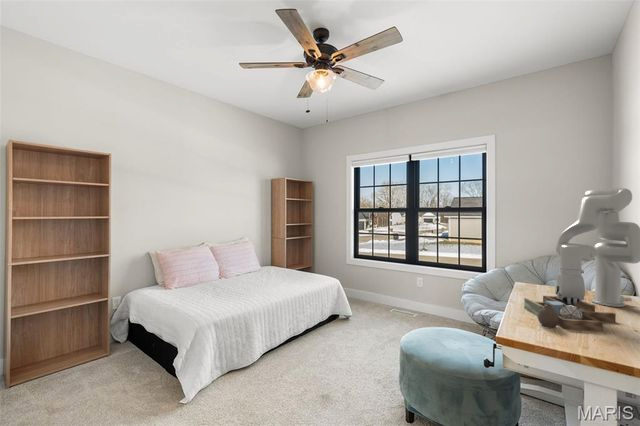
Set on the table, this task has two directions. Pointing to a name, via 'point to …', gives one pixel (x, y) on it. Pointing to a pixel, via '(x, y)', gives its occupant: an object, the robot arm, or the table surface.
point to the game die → (571, 312)
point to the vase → (548, 316)
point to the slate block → (556, 305)
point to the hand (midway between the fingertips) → (570, 312)
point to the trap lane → (589, 323)
